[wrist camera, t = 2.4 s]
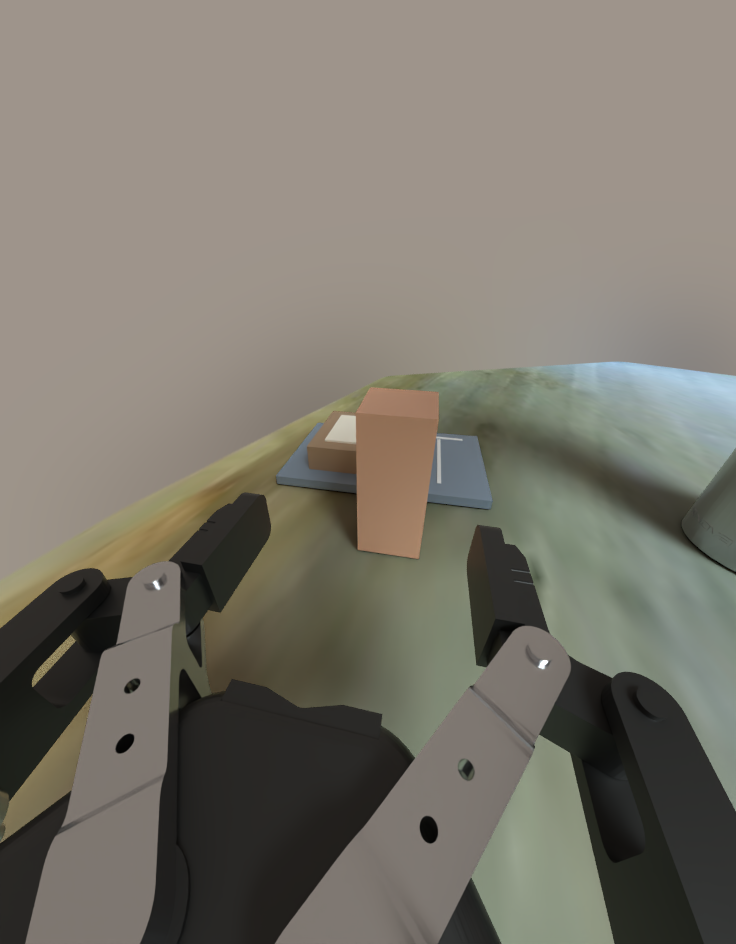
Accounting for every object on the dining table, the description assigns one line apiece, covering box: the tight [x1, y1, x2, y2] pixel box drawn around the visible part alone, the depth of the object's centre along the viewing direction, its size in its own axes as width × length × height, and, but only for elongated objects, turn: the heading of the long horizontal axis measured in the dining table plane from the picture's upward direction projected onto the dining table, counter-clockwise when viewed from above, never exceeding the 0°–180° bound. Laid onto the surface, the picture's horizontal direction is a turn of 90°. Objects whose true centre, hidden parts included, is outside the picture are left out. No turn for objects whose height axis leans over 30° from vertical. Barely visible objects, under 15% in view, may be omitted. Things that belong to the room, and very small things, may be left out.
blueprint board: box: [276, 411, 493, 509], centre depth 36 cm, size 22×14×4 cm, turn 79°
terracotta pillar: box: [356, 387, 439, 559], centre depth 24 cm, size 5×5×12 cm
